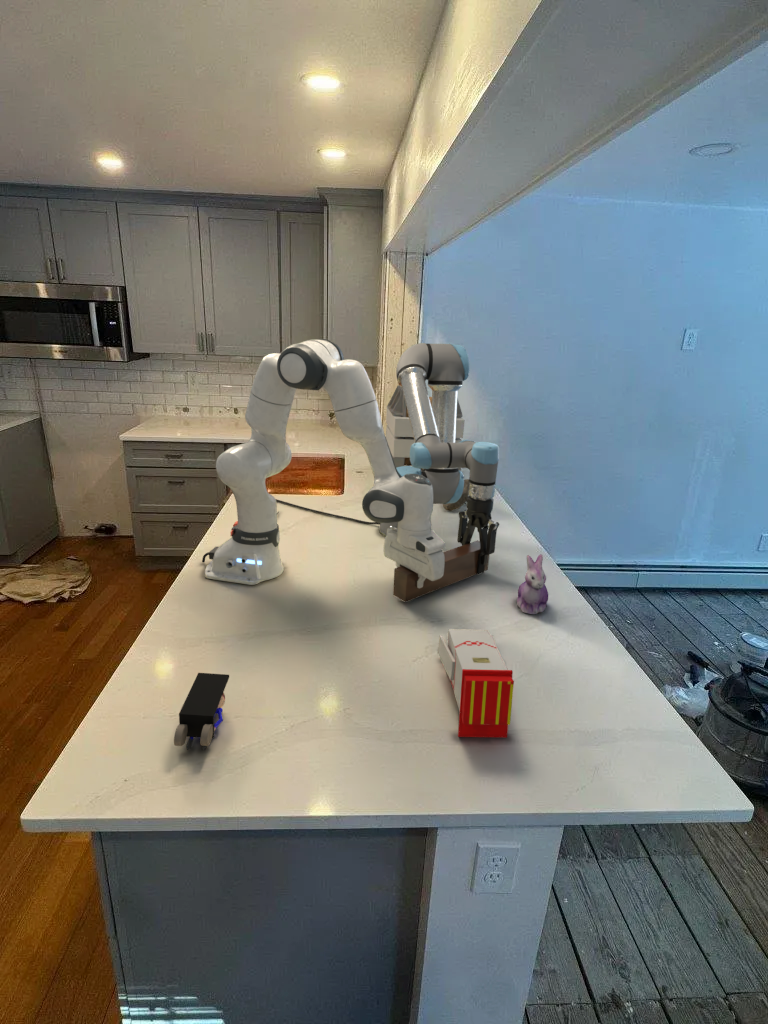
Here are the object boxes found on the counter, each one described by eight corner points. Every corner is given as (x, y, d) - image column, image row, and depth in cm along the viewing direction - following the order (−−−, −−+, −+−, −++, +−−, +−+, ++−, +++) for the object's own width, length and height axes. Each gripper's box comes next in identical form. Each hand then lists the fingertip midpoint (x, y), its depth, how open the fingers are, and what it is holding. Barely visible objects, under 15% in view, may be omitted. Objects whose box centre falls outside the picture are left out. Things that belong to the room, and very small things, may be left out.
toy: (488, 613, 130) (523, 677, 101) (484, 667, 133) (517, 744, 104) (435, 612, 130) (455, 676, 101) (432, 666, 133) (451, 743, 103)
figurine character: (213, 763, 99) (233, 700, 112) (209, 732, 95) (230, 670, 109) (174, 763, 99) (198, 699, 112) (169, 731, 95) (194, 669, 109)
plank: (392, 595, 154) (394, 568, 151) (475, 564, 175) (477, 540, 173) (405, 602, 151) (407, 575, 148) (487, 569, 172) (490, 545, 169)
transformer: (382, 463, 289) (386, 382, 275) (445, 464, 293) (451, 384, 279) (390, 482, 257) (394, 392, 243) (460, 483, 261) (468, 394, 247)
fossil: (437, 485, 243) (466, 466, 238) (450, 501, 245) (479, 483, 240) (436, 507, 223) (469, 487, 218) (450, 525, 226) (482, 505, 221)
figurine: (531, 619, 148) (539, 566, 143) (506, 601, 156) (512, 551, 151) (558, 611, 152) (567, 560, 147) (532, 595, 160) (539, 546, 155)
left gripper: (379, 525, 154) (377, 571, 159) (432, 550, 140) (428, 600, 145) (396, 521, 158) (394, 566, 163) (450, 545, 144) (445, 593, 148)
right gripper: (448, 490, 167) (442, 562, 175) (497, 507, 154) (488, 584, 162) (465, 486, 172) (459, 556, 180) (514, 502, 159) (504, 577, 167)
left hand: (410, 582), depth 154 cm, fingers closed on plank, 5 cm apart
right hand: (472, 569), depth 171 cm, fingers closed on plank, 5 cm apart
